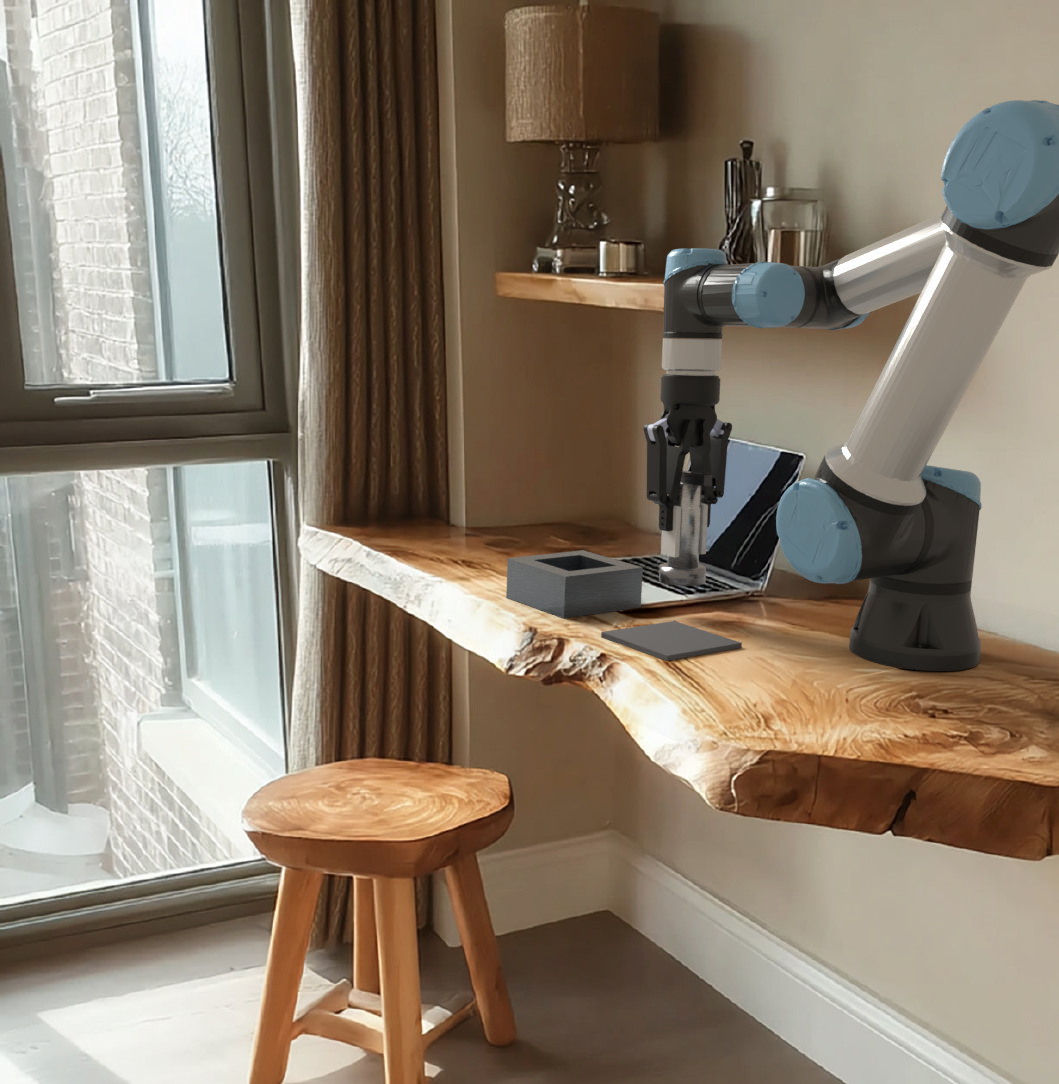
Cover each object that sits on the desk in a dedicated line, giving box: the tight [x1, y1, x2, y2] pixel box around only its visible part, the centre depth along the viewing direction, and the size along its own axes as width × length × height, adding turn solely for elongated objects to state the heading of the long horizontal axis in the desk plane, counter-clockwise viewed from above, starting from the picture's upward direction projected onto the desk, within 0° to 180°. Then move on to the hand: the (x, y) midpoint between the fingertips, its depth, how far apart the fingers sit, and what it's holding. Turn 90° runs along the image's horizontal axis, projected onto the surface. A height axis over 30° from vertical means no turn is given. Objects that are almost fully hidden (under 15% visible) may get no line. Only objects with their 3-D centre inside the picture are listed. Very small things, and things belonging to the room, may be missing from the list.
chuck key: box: [658, 469, 712, 587], centre depth 168 cm, size 8×6×14 cm
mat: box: [600, 620, 743, 662], centre depth 157 cm, size 12×12×1 cm
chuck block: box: [505, 549, 644, 619], centre depth 175 cm, size 13×13×6 cm
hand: (683, 553), depth 169 cm, fingers closed on chuck key, 4 cm apart
